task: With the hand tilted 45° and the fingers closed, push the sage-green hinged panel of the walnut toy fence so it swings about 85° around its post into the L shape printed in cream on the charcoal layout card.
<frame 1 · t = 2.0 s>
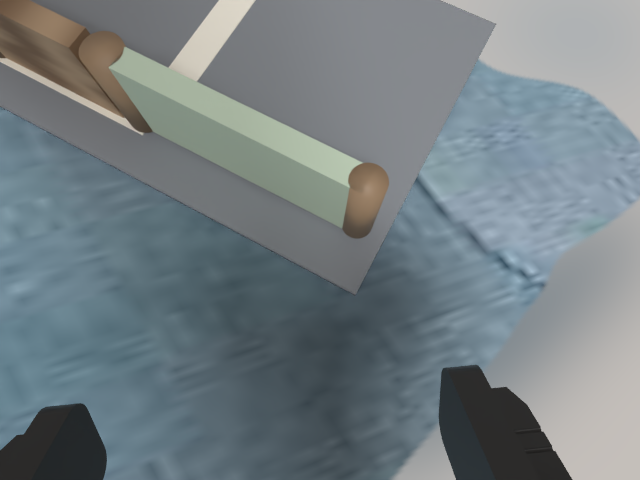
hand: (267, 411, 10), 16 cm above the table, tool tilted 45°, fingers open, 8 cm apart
layout card: (226, 52, 32), on the table
green panel: (238, 143, 26), point 4 cm above the table, hinge at 0.0°
walnut fence: (149, 120, 30), resting on layout card
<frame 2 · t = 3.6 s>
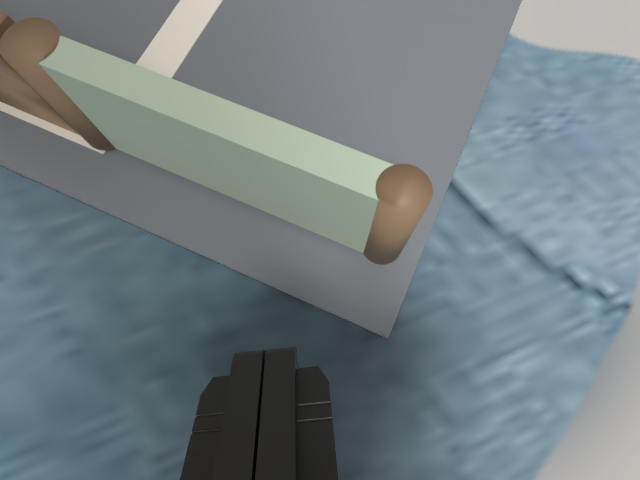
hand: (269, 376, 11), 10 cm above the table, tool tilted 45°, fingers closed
layout card: (202, 47, 26), on the table
green panel: (221, 153, 20), point 4 cm above the table, hinge at 0.0°
walnut fence: (111, 134, 24), resting on layout card
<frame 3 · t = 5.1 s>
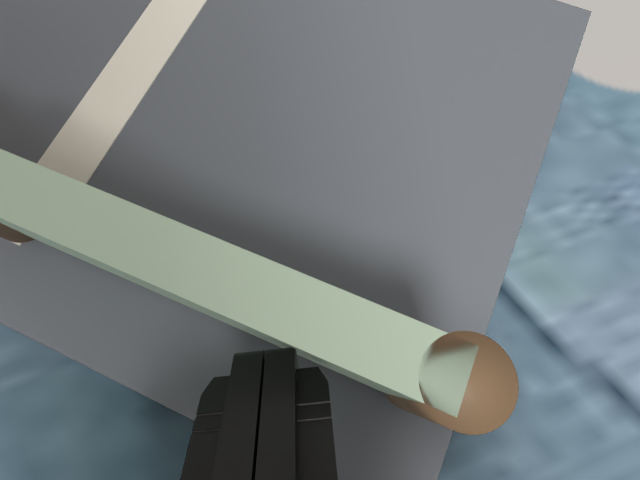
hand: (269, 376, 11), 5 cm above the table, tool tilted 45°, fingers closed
layout card: (161, 90, 20), on the table
green panel: (172, 269, 13), point 4 cm above the table, hinge at 1.1°, touching gripper
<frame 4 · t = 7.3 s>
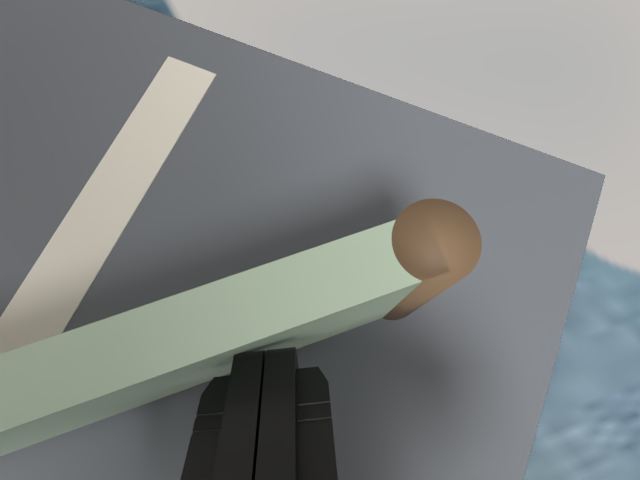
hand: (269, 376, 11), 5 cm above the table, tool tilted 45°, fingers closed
layout card: (113, 272, 17), on the table
green panel: (138, 368, 12), point 4 cm above the table, hinge at 43.1°, touching gripper
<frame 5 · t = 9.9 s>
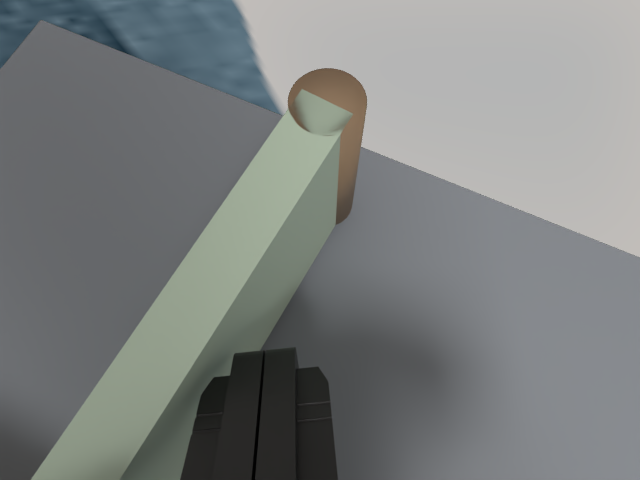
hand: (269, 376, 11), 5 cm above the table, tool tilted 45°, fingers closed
layout card: (231, 408, 16), on the table
green panel: (182, 391, 12), point 4 cm above the table, hinge at 84.8°
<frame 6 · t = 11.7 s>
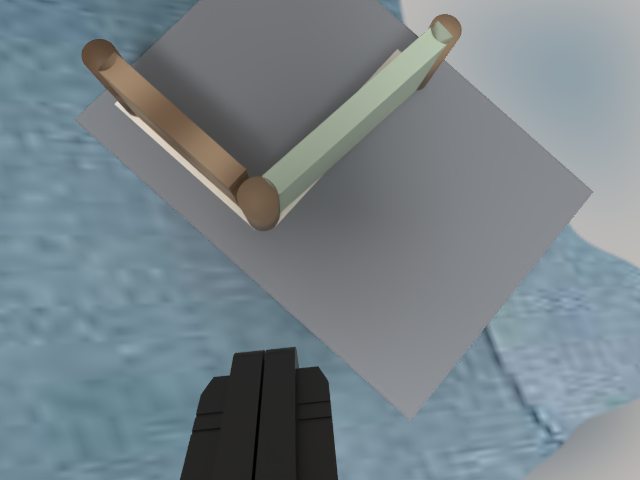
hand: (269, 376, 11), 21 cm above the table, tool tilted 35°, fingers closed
layout card: (343, 158, 34), on the table
green panel: (346, 129, 30), point 4 cm above the table, hinge at 84.8°
walnut fence: (263, 215, 32), resting on layout card
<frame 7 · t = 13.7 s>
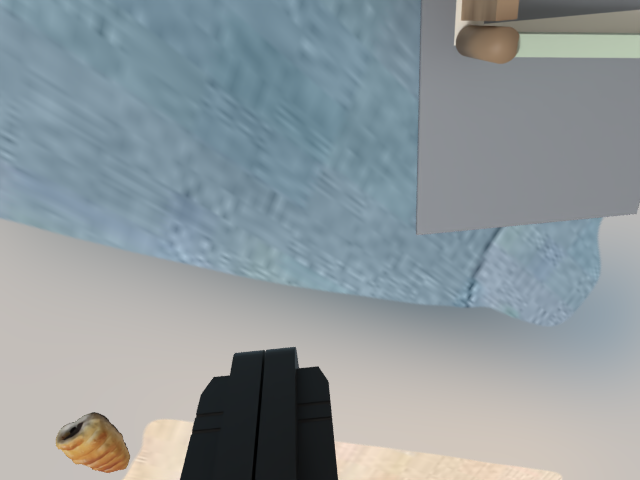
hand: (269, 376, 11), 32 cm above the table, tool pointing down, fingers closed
layout card: (550, 51, 38), on the table
pastry: (100, 432, 57), on the table
green panel: (584, 44, 34), point 4 cm above the table, hinge at 84.8°
walnut fence: (468, 40, 37), resting on layout card
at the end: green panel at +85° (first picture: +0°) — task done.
